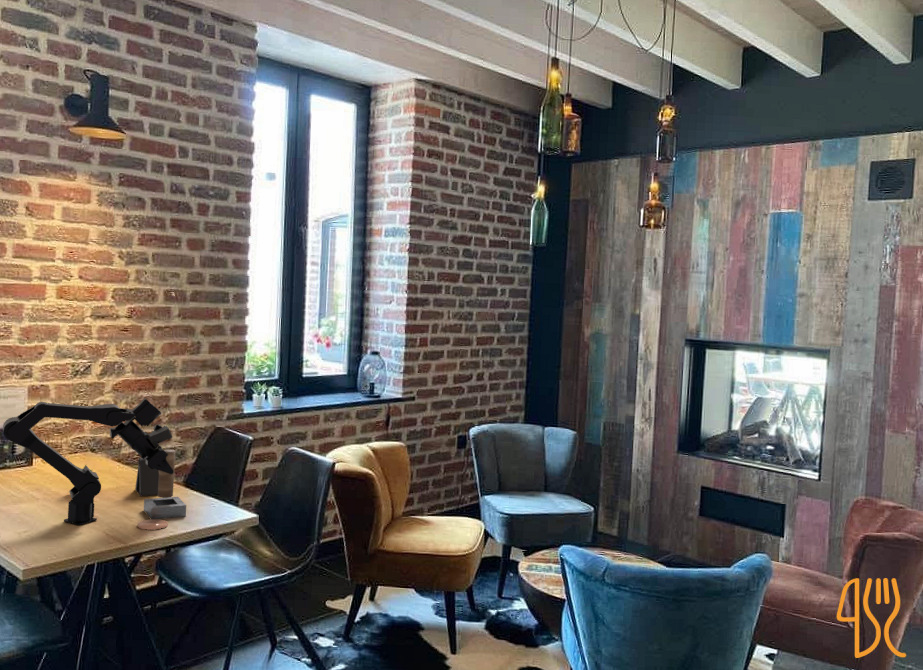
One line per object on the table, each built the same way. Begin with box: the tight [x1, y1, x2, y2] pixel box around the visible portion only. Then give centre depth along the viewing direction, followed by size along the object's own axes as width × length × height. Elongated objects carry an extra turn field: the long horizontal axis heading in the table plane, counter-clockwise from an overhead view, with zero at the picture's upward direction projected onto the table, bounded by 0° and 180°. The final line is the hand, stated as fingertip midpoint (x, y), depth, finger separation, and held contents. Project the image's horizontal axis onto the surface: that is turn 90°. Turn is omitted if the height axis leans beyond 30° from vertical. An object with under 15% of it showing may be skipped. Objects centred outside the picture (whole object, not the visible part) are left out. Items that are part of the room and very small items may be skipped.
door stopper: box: [134, 457, 159, 497], centre depth 265 cm, size 9×6×12 cm, turn 33°
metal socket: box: [143, 496, 187, 520], centre depth 245 cm, size 10×10×4 cm
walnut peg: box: [157, 449, 176, 498], centre depth 243 cm, size 4×4×14 cm
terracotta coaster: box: [136, 519, 169, 531], centre depth 232 cm, size 8×8×1 cm
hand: (171, 471), depth 244 cm, fingers closed on walnut peg, 4 cm apart
